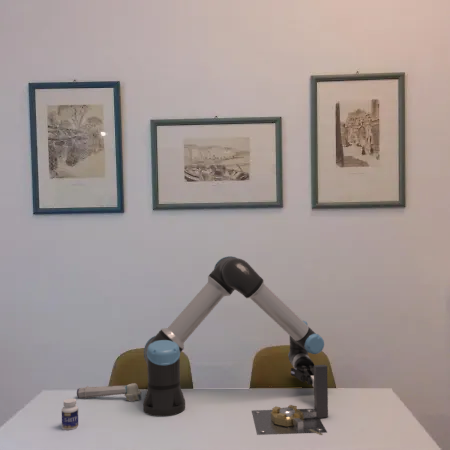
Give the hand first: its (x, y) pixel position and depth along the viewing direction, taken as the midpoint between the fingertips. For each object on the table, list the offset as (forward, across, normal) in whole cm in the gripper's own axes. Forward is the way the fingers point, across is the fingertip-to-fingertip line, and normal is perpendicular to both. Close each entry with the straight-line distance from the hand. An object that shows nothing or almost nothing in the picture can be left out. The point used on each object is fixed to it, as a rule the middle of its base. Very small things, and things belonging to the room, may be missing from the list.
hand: (316, 385), depth 174 cm
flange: (+8, +12, -10) cm, 17 cm away
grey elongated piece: (-21, +76, -10) cm, 79 cm away
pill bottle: (+5, +84, -10) cm, 85 cm away
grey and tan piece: (+7, +7, -9) cm, 13 cm away
